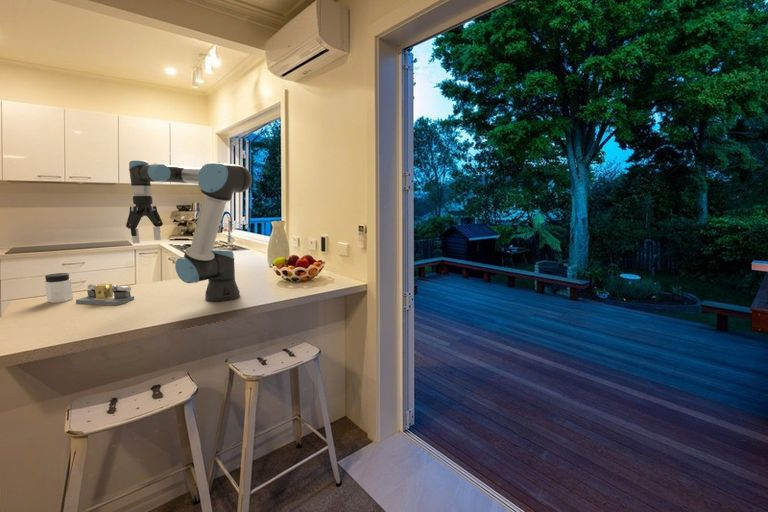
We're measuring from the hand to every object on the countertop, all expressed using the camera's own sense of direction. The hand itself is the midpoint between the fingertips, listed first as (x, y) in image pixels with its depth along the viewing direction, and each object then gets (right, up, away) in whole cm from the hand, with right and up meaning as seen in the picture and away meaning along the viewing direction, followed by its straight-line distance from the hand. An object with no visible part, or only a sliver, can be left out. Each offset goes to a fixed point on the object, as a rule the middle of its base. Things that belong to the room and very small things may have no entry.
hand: (147, 241), depth 173 cm
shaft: (-23, -25, -1) cm, 34 cm away
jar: (-38, -27, -3) cm, 47 cm away
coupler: (-17, -26, -4) cm, 31 cm away
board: (-16, -27, -4) cm, 32 cm away
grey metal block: (-9, -26, -3) cm, 28 cm away
